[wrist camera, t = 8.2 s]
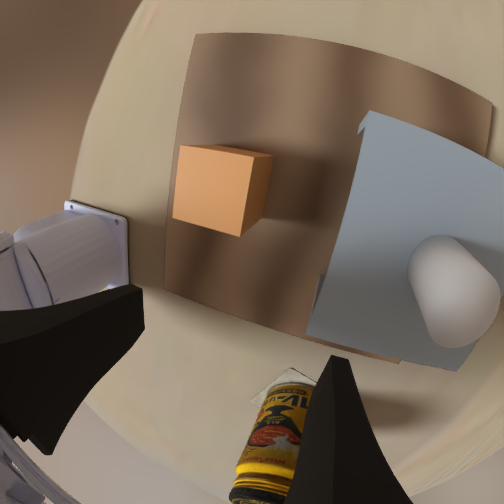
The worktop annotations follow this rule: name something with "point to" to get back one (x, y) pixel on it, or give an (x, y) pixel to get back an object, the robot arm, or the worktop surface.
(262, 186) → the block
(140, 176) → the worktop surface
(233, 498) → the condiment
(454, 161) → the cover
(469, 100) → the board
